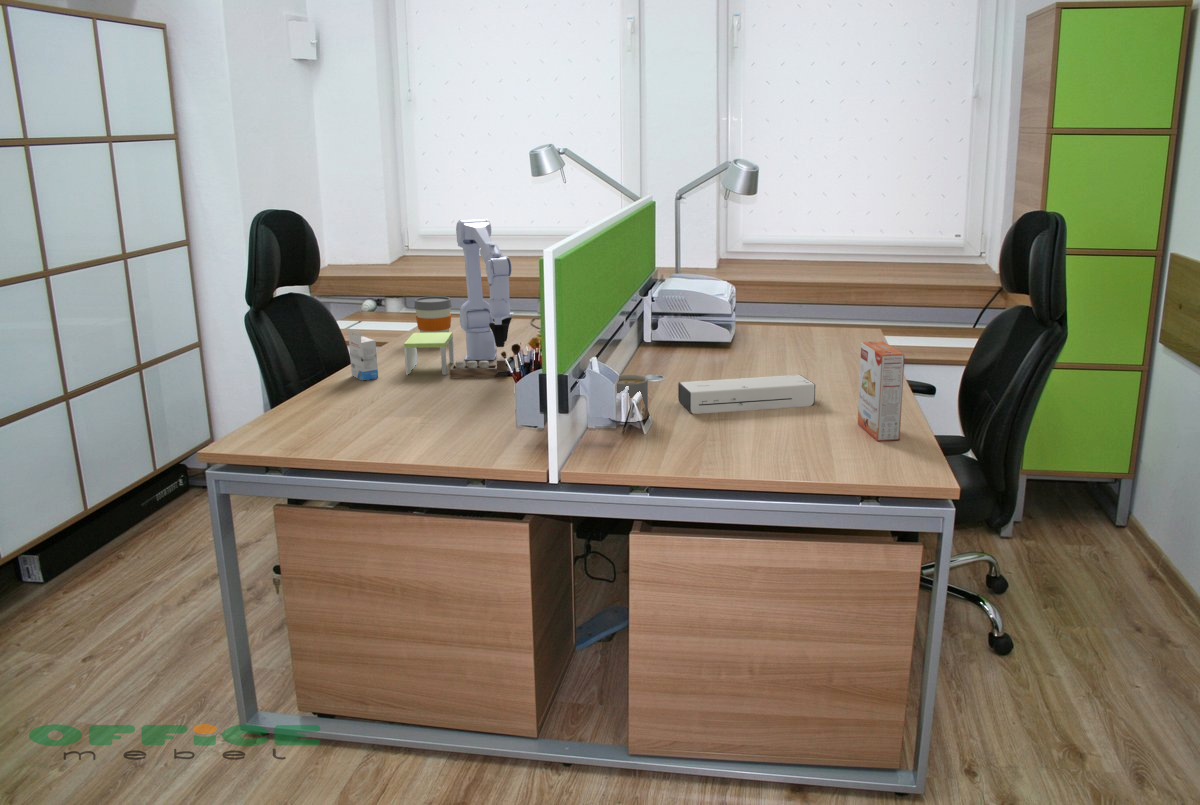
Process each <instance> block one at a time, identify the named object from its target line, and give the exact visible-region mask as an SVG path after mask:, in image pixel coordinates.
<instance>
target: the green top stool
mask: <svg viewBox="0 0 1200 805" xmlns="http://www.w3.org/2000/svg"><path fill="white" fill-rule="evenodd" d="M453 338H454V335H453V332H452V331H449V332H438V333H420V332H413V333H412V334H411V335H410V336H409V337H408V339H407V340H406V341H405V342H404V343H403V350H404V364H405V365H404V366H405V375H406V376H409V375H410V374H411V372H412V371H413V370H412V369H414V368H415V367H416V366H415V365H417V364H418V350H417V348H440V356H441V358H440V359H441V361H440V362H441V374H442V376H444V375H445V376H446V375H447V374H448V370H447V352H446V351H447V350H446V349H447V348H446V346H447V345H448V358H449V360H448V361H449V364H454V363H455V356H454V341H453ZM411 370H412V371H411ZM408 374H409V375H408Z"/></svg>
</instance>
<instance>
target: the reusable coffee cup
mask: <svg viewBox="0 0 1200 805" xmlns="http://www.w3.org/2000/svg"><path fill="white" fill-rule="evenodd" d="M451 308H452V301H451V297H448V296H443V295H442V296H438V295H437V296H436V295H434V296H433V295H431V296H423V297H418V298H415V299H414V309H415V313H416V316H415V319H416V324H417V328H418V330H419V333H438V332H450V328H451V325H452V324H451V323H452V314H451Z"/></svg>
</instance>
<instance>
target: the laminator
mask: <svg viewBox="0 0 1200 805" xmlns="http://www.w3.org/2000/svg"><path fill="white" fill-rule="evenodd" d="M677 387H678V389H677V390H678V394H677V395H678V402H679V403H680V404H682V406H684V407H685V409H687V411H689V413H690V414H691V415H696V414H697V415H699V414H711V413H712V414H713V413H726V412H727V413H729V412H740V411H741V412H742V411H755V410H759V411H760V410H771V409H784V408H785V409H786V408H799V407H813V405H814V404H815V401H816V384H815V383H814V382H813V381H811V380H809V379H808V378H806V377H805V376H803V375H802V374H788V375H773V376H771V375H770V376H760V377H759V376H758V377H744V378H742V377H741V378H726V379H711V380H708V379H707V380H695V381H694V380H693V381H681V382H679V381H678V386H677Z"/></svg>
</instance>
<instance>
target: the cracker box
mask: <svg viewBox="0 0 1200 805" xmlns="http://www.w3.org/2000/svg"><path fill="white" fill-rule="evenodd" d="M860 344H861V345H860V363H859V364H860V365H859V385H858V406H857V407H858V408H857V424H858V425H859V426H860V427H861V428H862V429H863V430H864V431H866V433H868V435H870V436H871V437H872V438H873V439H874V440H876V442H885V441H886V442H887V441H900V439H901V425H902V410H903V409H902V407H903V394H904V393H903V392H904V391H903V388H904V377H905V373H904V372H905V360H906V359H905V358H906V354H905V353H902V352H901V351H900V350H898V349H896V348H894V347H893V346H892V345H890V344H889V343H887V342H885V341H862V342H860Z"/></svg>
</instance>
